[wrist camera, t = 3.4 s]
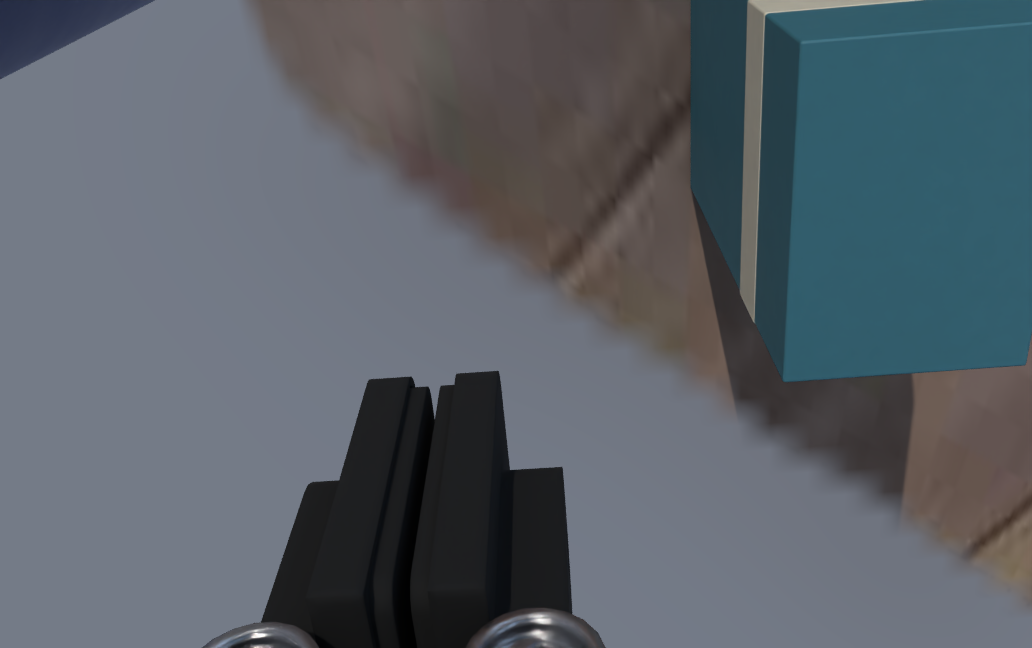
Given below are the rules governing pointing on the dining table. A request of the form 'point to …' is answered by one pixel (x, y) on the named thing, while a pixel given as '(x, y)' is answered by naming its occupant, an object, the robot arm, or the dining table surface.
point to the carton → (870, 178)
